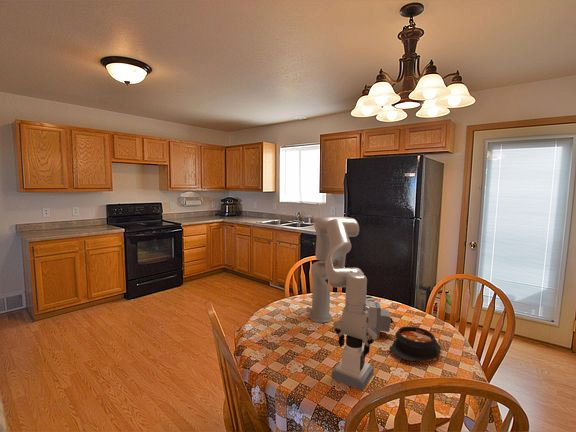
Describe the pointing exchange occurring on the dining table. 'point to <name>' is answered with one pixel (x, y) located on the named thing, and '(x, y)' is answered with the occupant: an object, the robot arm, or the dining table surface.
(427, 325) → the dining table surface
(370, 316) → the circuit breaker
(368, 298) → the grey curved block
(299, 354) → the dining table surface
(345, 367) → the medicine bottle
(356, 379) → the stand
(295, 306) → the dining table surface
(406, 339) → the casserole
